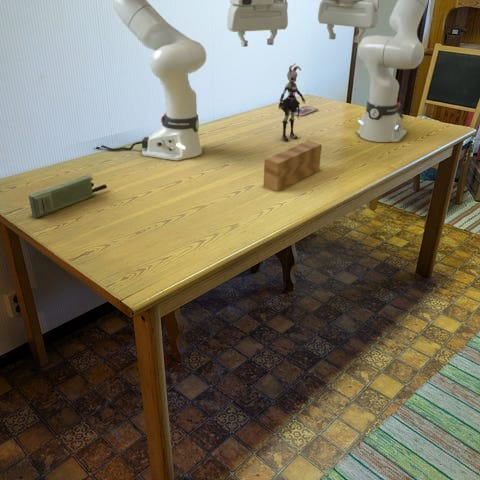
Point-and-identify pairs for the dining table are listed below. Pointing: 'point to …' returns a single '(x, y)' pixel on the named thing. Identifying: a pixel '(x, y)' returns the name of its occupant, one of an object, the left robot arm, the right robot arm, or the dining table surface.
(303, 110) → the smartphone
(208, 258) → the dining table surface
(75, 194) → the handheld radio
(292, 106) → the figurine
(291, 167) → the bar
